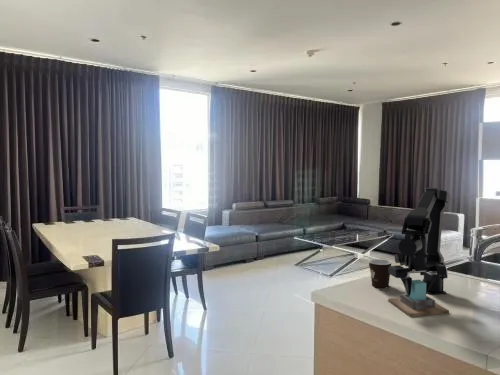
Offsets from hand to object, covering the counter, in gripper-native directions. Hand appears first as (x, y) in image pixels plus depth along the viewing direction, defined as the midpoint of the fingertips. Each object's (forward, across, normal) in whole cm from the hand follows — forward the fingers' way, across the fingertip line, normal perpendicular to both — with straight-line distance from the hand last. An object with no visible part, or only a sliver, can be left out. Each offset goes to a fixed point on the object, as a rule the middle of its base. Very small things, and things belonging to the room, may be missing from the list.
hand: (417, 294), depth 130 cm
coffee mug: (+5, +1, -25) cm, 25 cm away
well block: (+4, 0, 0) cm, 4 cm away
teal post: (+4, 0, 0) cm, 4 cm away
